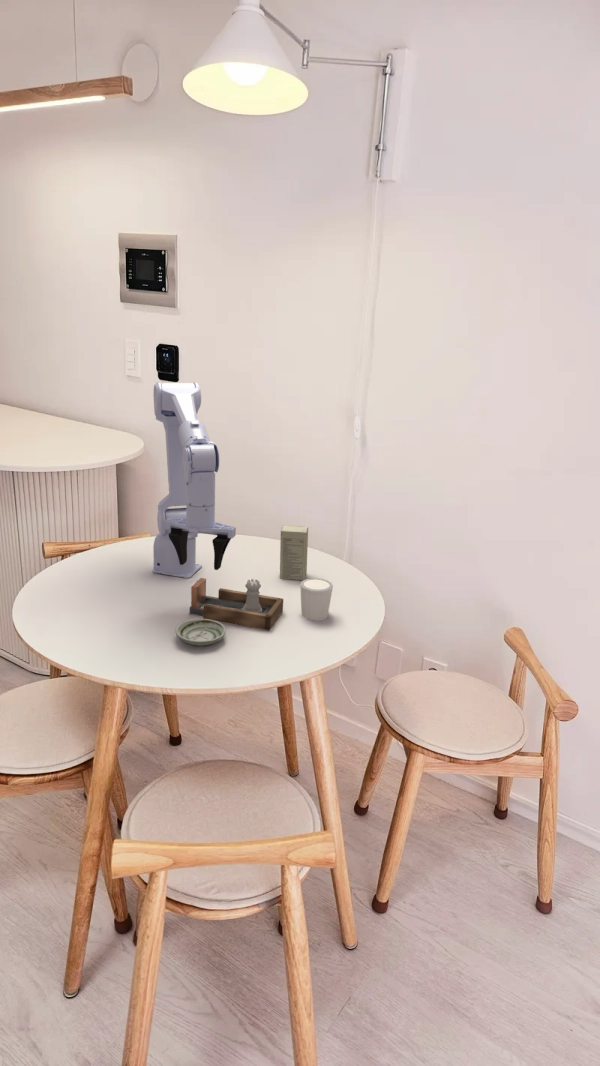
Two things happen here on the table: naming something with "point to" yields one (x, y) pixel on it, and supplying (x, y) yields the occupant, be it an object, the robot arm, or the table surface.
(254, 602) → the rook chess piece
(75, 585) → the table surface
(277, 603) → the walnut lane
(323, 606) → the shot glass
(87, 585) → the table surface
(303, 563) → the skincare box
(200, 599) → the frame
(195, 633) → the saucer
